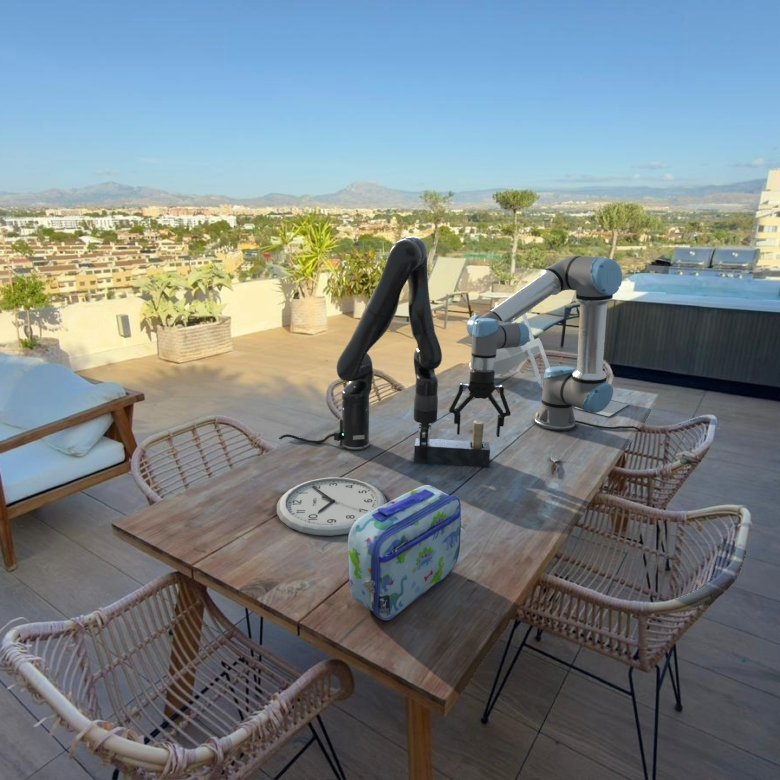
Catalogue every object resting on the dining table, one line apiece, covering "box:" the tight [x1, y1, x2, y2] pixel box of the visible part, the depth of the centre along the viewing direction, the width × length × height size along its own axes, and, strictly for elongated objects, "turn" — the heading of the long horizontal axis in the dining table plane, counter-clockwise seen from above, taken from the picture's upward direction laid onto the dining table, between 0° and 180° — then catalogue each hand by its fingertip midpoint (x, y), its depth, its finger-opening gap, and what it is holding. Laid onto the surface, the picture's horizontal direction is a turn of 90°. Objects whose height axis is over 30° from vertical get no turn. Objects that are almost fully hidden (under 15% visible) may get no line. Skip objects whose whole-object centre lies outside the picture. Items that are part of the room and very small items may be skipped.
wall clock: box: [276, 476, 388, 537], centre depth 142 cm, size 30×2×30 cm
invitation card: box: [573, 400, 629, 418], centre depth 226 cm, size 21×1×15 cm
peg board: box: [413, 437, 491, 468], centre depth 171 cm, size 24×6×6 cm, turn 84°
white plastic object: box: [468, 312, 551, 390], centre depth 259 cm, size 37×45×31 cm
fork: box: [550, 450, 560, 475], centre depth 169 cm, size 3×16×2 cm, turn 160°
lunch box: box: [347, 484, 462, 621], centre depth 107 cm, size 26×11×21 cm, turn 134°
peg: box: [471, 419, 485, 448], centre depth 169 cm, size 3×3×14 cm
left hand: (423, 454), depth 172 cm, fingers closed on peg board, 6 cm apart
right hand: (477, 434), depth 168 cm, fingers open, 12 cm apart
